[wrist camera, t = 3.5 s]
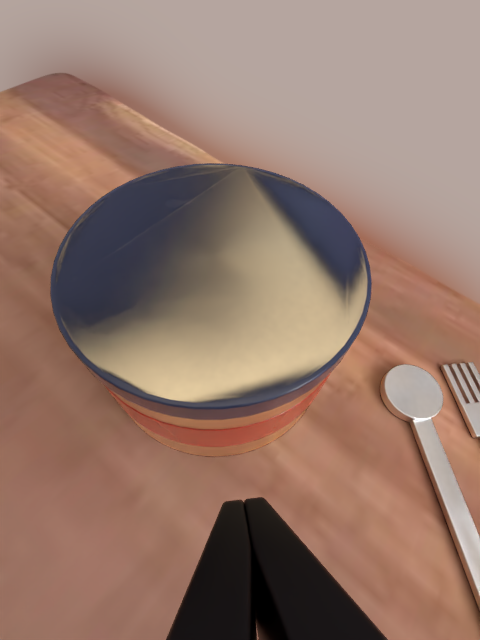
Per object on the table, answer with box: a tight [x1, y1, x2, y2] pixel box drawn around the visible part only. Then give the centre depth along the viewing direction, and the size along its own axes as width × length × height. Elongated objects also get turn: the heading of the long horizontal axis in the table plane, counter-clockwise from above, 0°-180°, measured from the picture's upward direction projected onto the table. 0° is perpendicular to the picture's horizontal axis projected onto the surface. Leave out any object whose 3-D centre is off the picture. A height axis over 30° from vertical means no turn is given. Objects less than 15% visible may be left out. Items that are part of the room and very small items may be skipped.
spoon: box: [380, 364, 480, 610], centre depth 19 cm, size 14×4×1 cm, turn 6°
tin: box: [51, 163, 372, 457], centre depth 19 cm, size 14×14×9 cm
